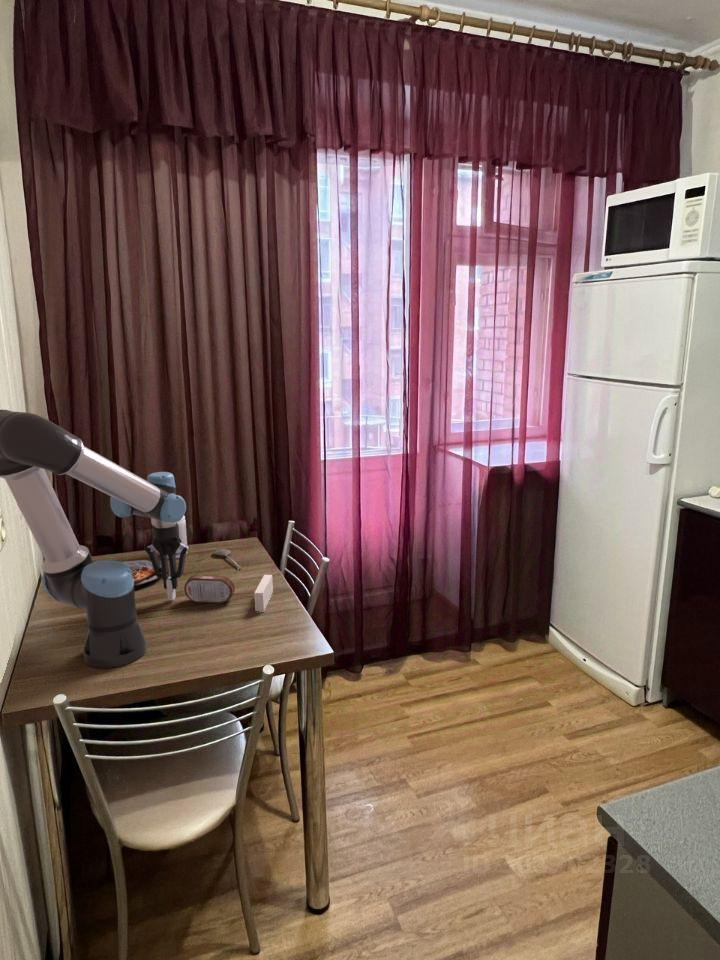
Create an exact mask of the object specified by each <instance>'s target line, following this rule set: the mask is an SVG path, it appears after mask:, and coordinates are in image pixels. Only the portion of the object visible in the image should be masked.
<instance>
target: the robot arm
mask: <svg viewBox="0 0 720 960" xmlns="http://www.w3.org/2000/svg"><path fill="white" fill-rule="evenodd" d="M46 471H49V472H51V473H53V474H55V475H59V476H62V475H67V476H70V477H72V478H73V479H76V480H78V481H79V482H82V483H83V484H86V485H88V486H90V487H92V488H94V489H96V490H98V491H100V492H101V493H104V494H106V495H107V496H110V499H109V502H110V509H111V511H112V512H113V513H114V515H115V516H117V517H118V518H127V517H130V516H134V515H135V516H140V517H143V518H149V519H151V521H150V523H151V525H152V527H151V529H152V539H153V540H152V541H151V544H149V545H148V546H147V547H145V548H144V549H145V552H146V553H147V555H148V556H149V559H150V561H151V562H152V565H153V568H154V571H155V574H156V576H157V577H158V579H162V582H163V588H164V590H166V592H167V593H166V594H167V595H166V596H167V600H168V601H174V600H175V598H176V596H177V595H176V589H178V586H179V585H178V578H181V577H182V575H183V574H184V569H185V565H186V564H185V562H186V558H187V555H186V553H187V554H188V551H189V550H190V545H188V544H187V545H186V546H185V545H184V544H182V542H181V540H180V538H179V525H178V524H177V522H178V521H179V520H181V519H182V518H183V516H185V513H186V511H187V504H186V501H185V499H184V498H183V497H182V496H181V495H178V494H177V491H176V490H177V489H176V488H177V486H176V483H175V482H176V481H175V475H174V474H173V473H171V472H168V471H158V472H153V473H149V474H148V475H147V480H146V479H144V478H142V477H140V476H139V475H137V474H135V473H134V472H131V471H129V470H128V469H126V468H124V467H122V466H121V465H118V464H117V463H115V462H114V461H111V460H110V459H108V458H106V457H105V456H102V454H99V453H97V452H95V451H93V450H91V449H90V448H88V447H86V446H85V445H84V443H83V441H82V439H81V438H79V437H78V436H76V435H74V434H73V433H71V432H69V431H68V430H66V429H64V428H63V427H61V426H59V425H57V424H55V423H54V422H52V421H51V420H48V419H47V418H45V417H43V416H41V415H38V414H35V413H31V412H21V411H13V410H8V409H0V478H2V479H4V480H5V482H6V484H7V486H8V488H9V490H10V492H11V494H12V496H13V498H14V500H15V502H16V504H17V506H18V508H19V510H20V512H21V514H22V516H23V518H24V521H25V522H26V524H27V526H28V528H29V530H30V532H31V534H32V536H33V539H34V541H35V542H36V544H37V546H38V548H39V550H40V552H41V554H42V556H43V558H44V561H43V563H42V565H41V569H42V571H43V576H42V585H43V588H44V590H45V592H46V593H47V594H48V595H49V596H50V597H51V598H53V599H54V600H56V601H57V602H59V603H62V604H67V605H69V606H71V607H75V608H78V609H80V610H83V611H85V615H86V623H87V634H86V637H85V641H84V642H85V643H84V646H83V651H82V652H83V660H85V661H84V663H85V664H86V663H87V665H88V666H90V667H92V666H93V668H99V669H107V668H115V667H121V666H125V665H128V664H131V663H133V662H135V661H137V660H138V659H140V658H142V657H143V656H144V655H145V653H146V652H147V650H148V643H147V638H146V636H145V634H144V632H143V630H142V628H141V625H140V624H139V622H138V616H137V605H136V598H135V597H136V595H135V586H134V580H133V576H132V572H131V569H130V568H129V566H128V565H126V564H124V563H122V562H123V561H119V560H115V559H113V560H108V559H104V560H96V561H94V558H93V557H92V554H91V552H90V550H89V548H88V547H87V546H85V545H81V544H79V541H78V540H77V537H76V535H75V533H74V531H73V529H72V526H71V524H70V522H69V520H68V518H67V516H66V514H65V513H66V512H65V511H64V509H63V507H62V505H61V503H60V500H59V499H58V496H57V493H56V492H55V490H54V488H53V485H52V483H51V481H50V479H49V477H48V475H47V472H46ZM179 547H180V552H181V553H180V558H178V566H177V559H176V551H177V550H178V548H179ZM156 551H157V552H156ZM157 553H159V557H158V554H157ZM167 555H168V558H169V559H168V558H167ZM160 564H161V565H160ZM159 577H160V578H159Z"/></svg>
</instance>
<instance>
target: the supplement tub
mask: <svg viewBox="0 0 720 960" xmlns="http://www.w3.org/2000/svg"><path fill="white" fill-rule="evenodd" d="M177 524H178V525H179V538H180V540H181V542H182V544H184V545H185V546H186V545H188V540H187V539H188V538H187V522H186V516H185V515H184V516H183V518H182V519H181V520H179V521H178V522H177ZM180 553H181V552H180V547H179V548H178V550H177V551H176V560H177V558H178V559H179V558H180ZM187 555H188V552H187V553H186V556H187ZM167 558H168V555H167ZM168 560H169V558H168Z"/></svg>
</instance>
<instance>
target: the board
mask: <svg viewBox="0 0 720 960" xmlns="http://www.w3.org/2000/svg"><path fill="white" fill-rule="evenodd" d="M273 580H274V579H273V574H263V576H262V578H261V580H260V582H259V584H258V586H257V588H256V589H255V591H254V594H253V595H254V608H255V609H254V610H255V611H257V612H256V613H264V612H265V611H266V609H267V607H268V605H269V603H270V601H269V600H271V599H270V598H272V596H273V594H274V584H273V582H274V581H273ZM272 593H273V594H272ZM271 595H272V596H271ZM268 602H269V603H268ZM267 604H268V605H267ZM266 606H267V607H266ZM265 608H266V609H265ZM264 610H265V611H264ZM258 611H259V612H258ZM263 611H264V612H263Z"/></svg>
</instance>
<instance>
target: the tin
mask: <svg viewBox="0 0 720 960" xmlns="http://www.w3.org/2000/svg"><path fill="white" fill-rule="evenodd" d="M183 589H184V593H185V596H186V597H187V598H188V599H189V600H190V601H191V602H194V603H200V604H201V603H203V604H207V603H209V604H225V603H226V602H228V601H230V600H231V598H232V597H233V595H234V594H235V585H234V582H233V581H232V580H231V579H230V578H229V577H227V576H225V575H221V574H217V575H216V574H194V575H191V576H190V577H189V578H188V579H187V581H186V582H185V584H184V588H183Z"/></svg>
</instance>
